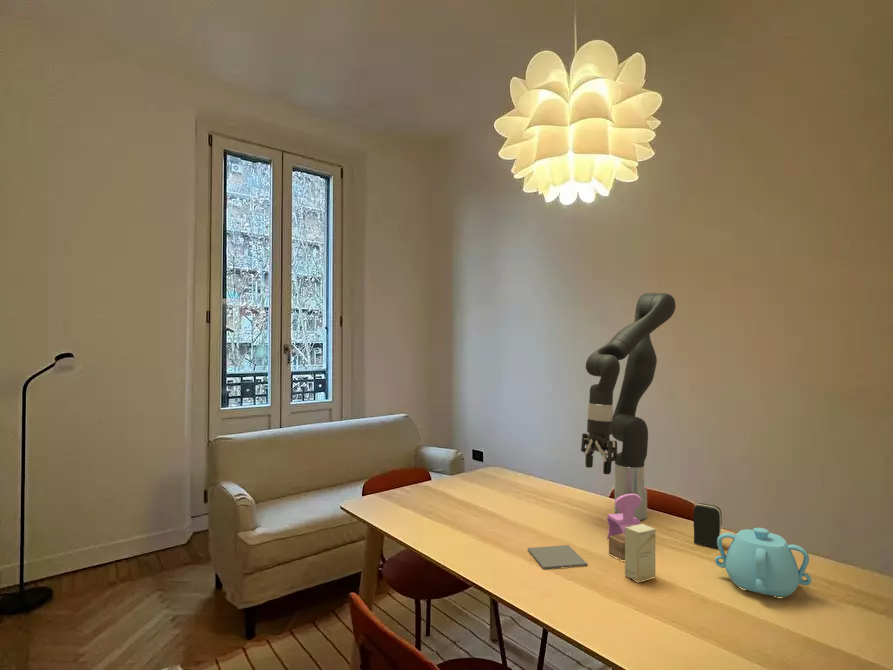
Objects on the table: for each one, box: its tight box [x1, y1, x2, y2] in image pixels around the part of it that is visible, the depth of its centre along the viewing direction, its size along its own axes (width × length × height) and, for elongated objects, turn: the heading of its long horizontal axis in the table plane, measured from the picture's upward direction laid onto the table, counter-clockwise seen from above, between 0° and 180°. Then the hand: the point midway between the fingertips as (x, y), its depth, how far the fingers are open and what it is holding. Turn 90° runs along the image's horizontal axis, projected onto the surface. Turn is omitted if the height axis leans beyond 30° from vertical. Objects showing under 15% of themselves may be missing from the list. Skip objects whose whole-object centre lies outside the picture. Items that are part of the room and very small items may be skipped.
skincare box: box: [624, 523, 656, 582], centre depth 126 cm, size 6×4×12 cm
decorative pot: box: [714, 527, 812, 598], centre depth 122 cm, size 16×16×14 cm
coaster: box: [527, 544, 589, 570], centre depth 137 cm, size 12×12×1 cm
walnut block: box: [608, 533, 625, 560], centre depth 139 cm, size 5×5×5 cm
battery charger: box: [693, 502, 723, 550], centre depth 146 cm, size 7×4×11 cm, turn 49°
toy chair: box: [606, 494, 641, 540], centre depth 147 cm, size 8×9×15 cm
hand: (597, 470), depth 160 cm, fingers open, 8 cm apart
